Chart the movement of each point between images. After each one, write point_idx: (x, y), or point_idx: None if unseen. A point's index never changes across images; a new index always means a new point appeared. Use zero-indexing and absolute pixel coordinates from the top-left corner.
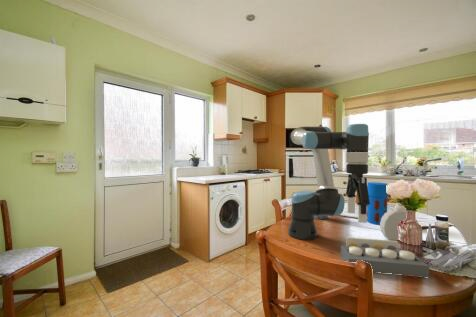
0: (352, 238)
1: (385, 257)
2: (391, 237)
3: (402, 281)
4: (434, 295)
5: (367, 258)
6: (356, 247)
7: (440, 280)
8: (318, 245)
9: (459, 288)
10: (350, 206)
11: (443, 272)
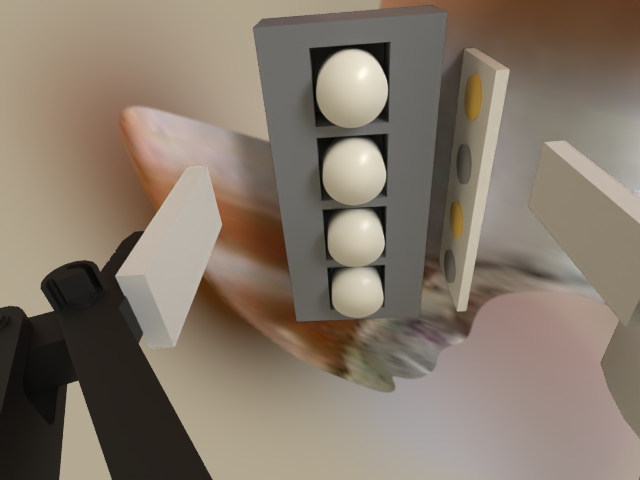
0: (489, 109)
1: (337, 214)
2: None
3: (249, 213)
4: None
5: (290, 132)
6: (374, 103)
7: None
8: None
9: (268, 331)
10: (575, 202)
11: (355, 338)
